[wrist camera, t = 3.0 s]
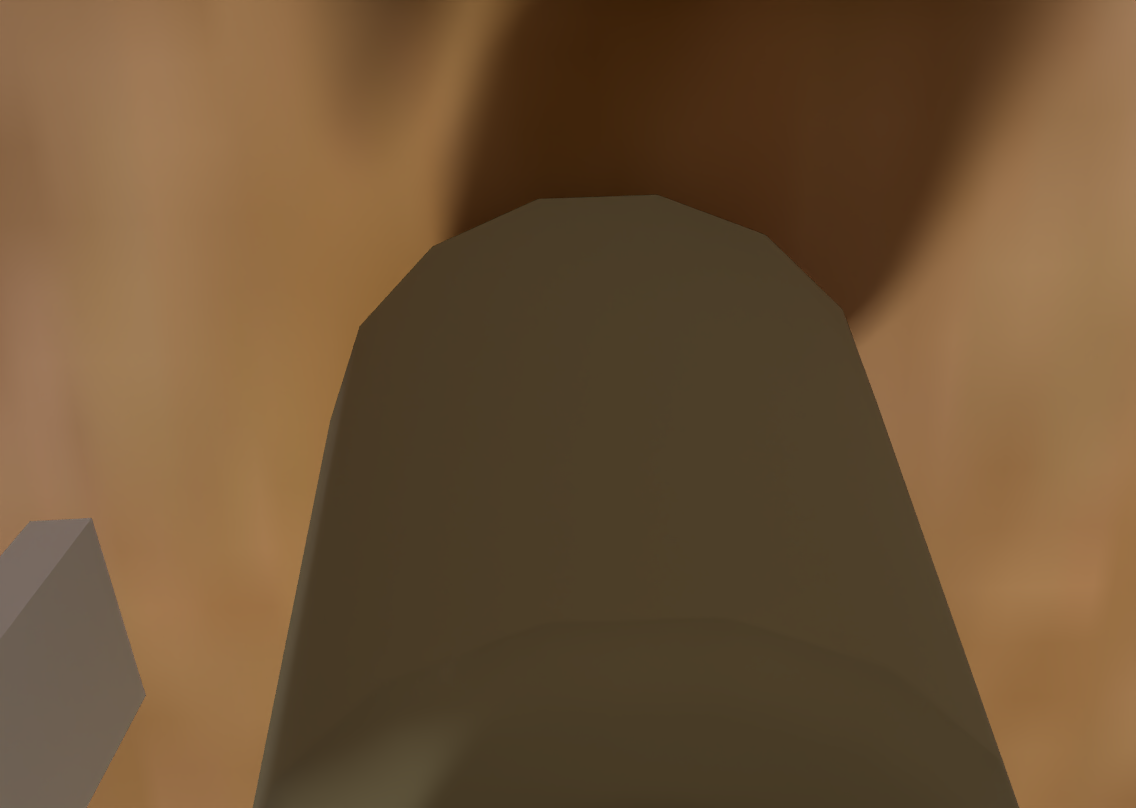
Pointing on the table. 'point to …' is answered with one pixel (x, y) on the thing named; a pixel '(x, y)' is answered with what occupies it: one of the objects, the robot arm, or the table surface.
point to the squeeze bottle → (617, 543)
